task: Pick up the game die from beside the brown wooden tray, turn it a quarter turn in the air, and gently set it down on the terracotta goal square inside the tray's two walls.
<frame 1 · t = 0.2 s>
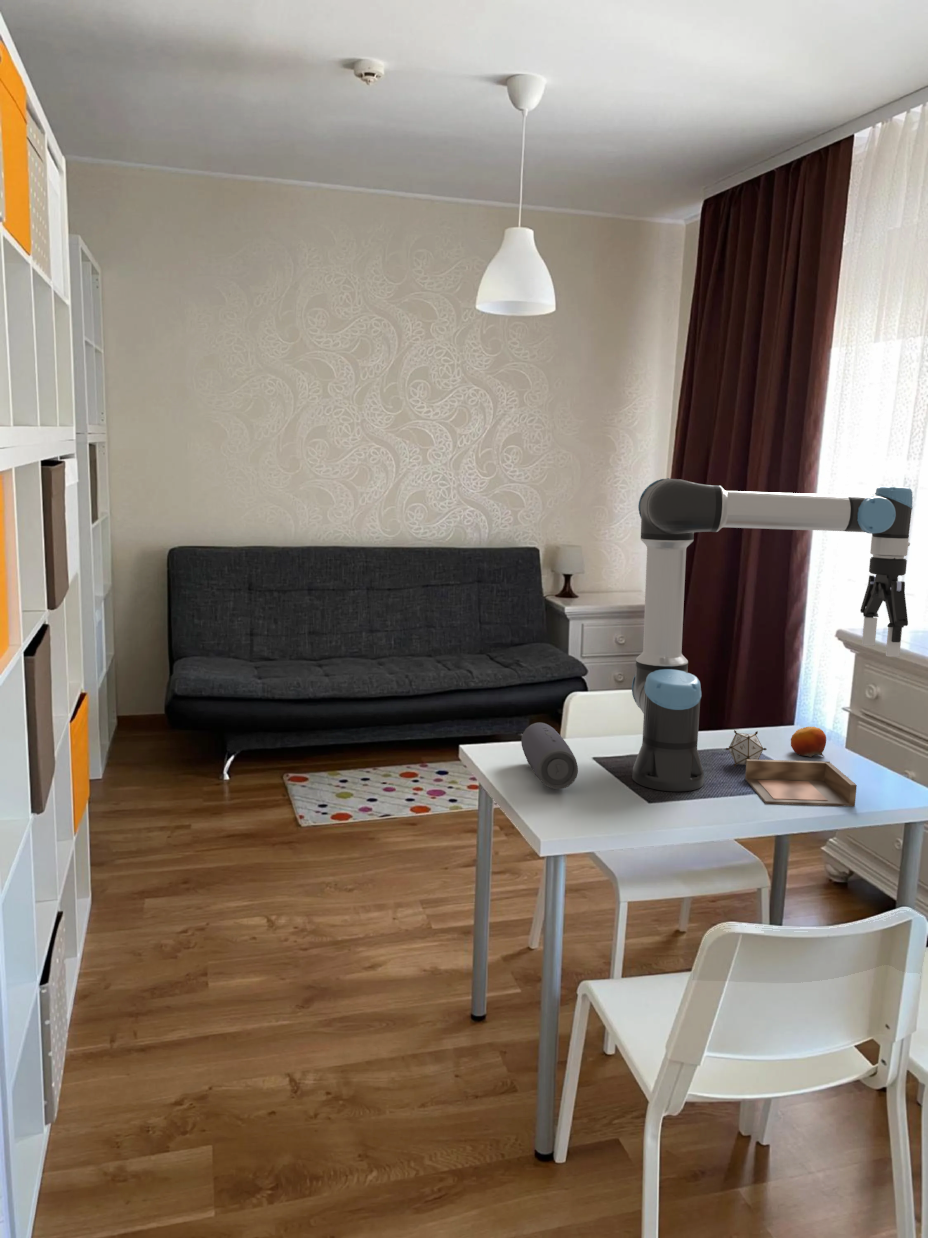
hand: (880, 650, 218), 28 cm above the table, tool pointing down, fingers open, 13 cm apart
fruit: (807, 755, 233), on the table
brown wooden tray: (797, 792, 205), on the table
game die: (744, 766, 223), on the table
bluetooth speaker: (547, 779, 211), on the table
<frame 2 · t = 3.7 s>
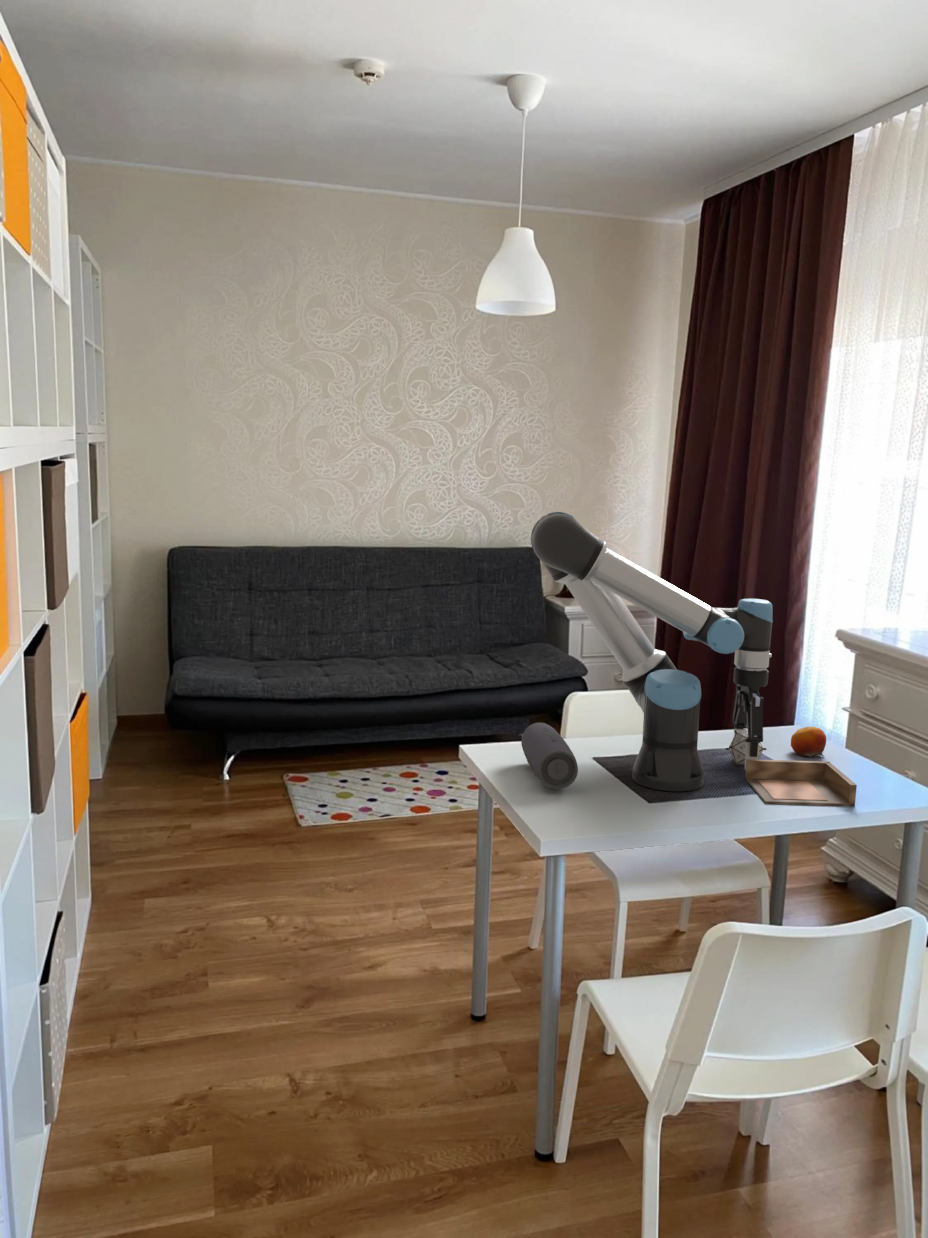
hand: (744, 762, 223), 1 cm above the table, tool pointing down, fingers closed on game die, 10 cm apart
game die: (744, 766, 223), on the table, touching gripper
everything else where it was.
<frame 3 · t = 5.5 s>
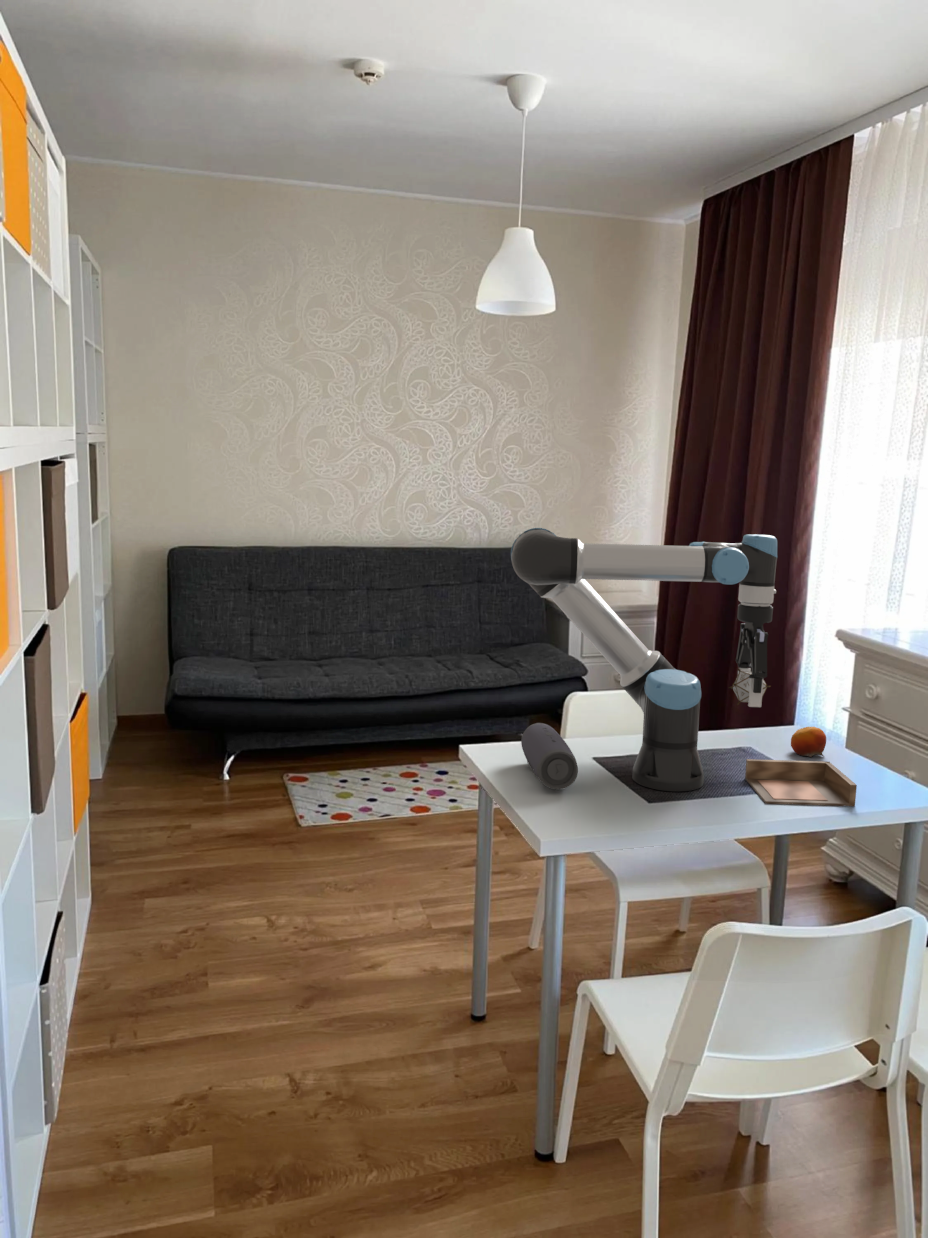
hand: (748, 701, 220), 15 cm above the table, tool pointing down, fingers closed on game die, 10 cm apart
game die: (748, 705, 221), point 14 cm above the table, touching gripper
everything else where it was.
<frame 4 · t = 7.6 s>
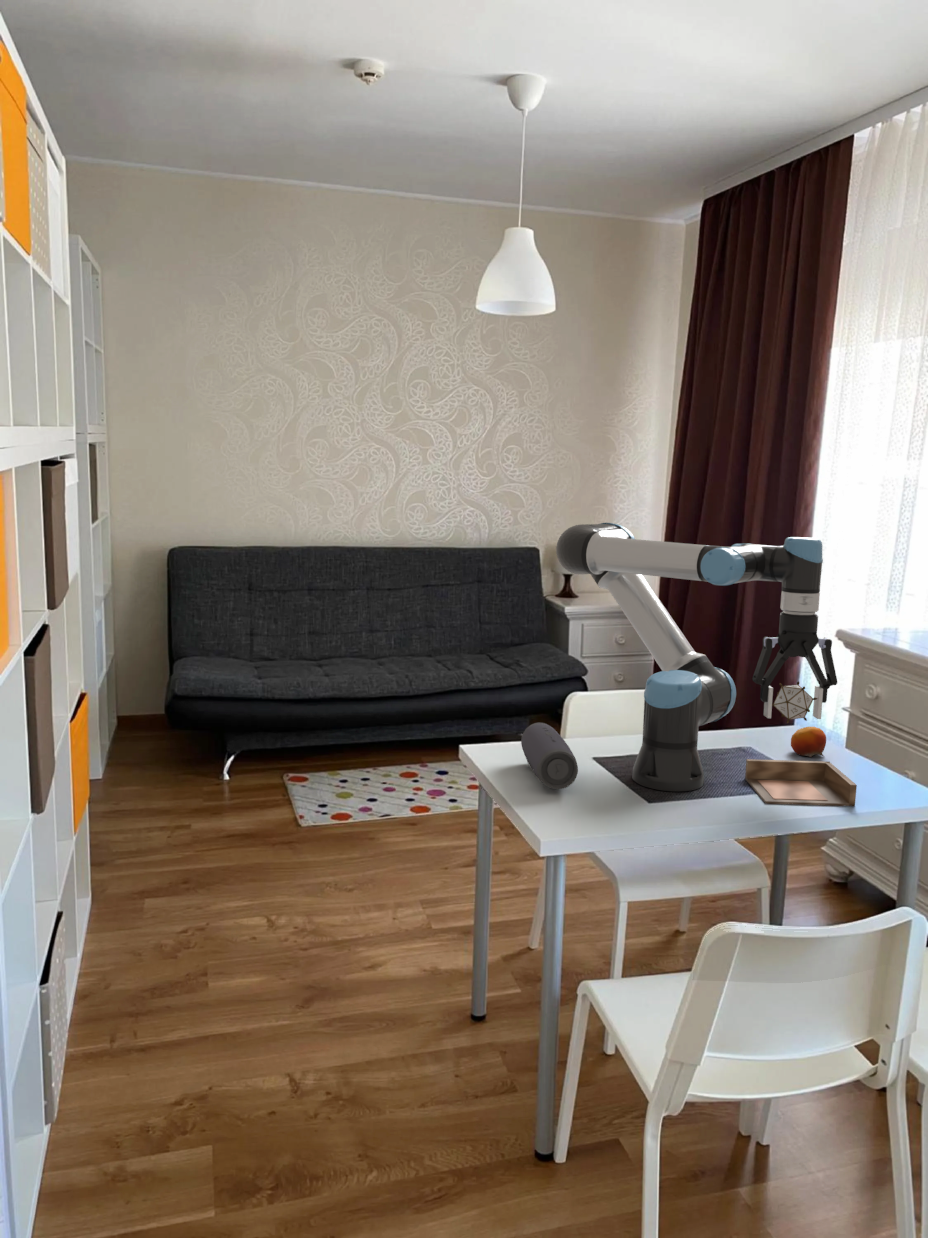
hand: (792, 717, 204), 16 cm above the table, tool pointing down, fingers closed on game die, 10 cm apart
game die: (791, 721, 204), point 15 cm above the table, touching gripper
everything else where it was.
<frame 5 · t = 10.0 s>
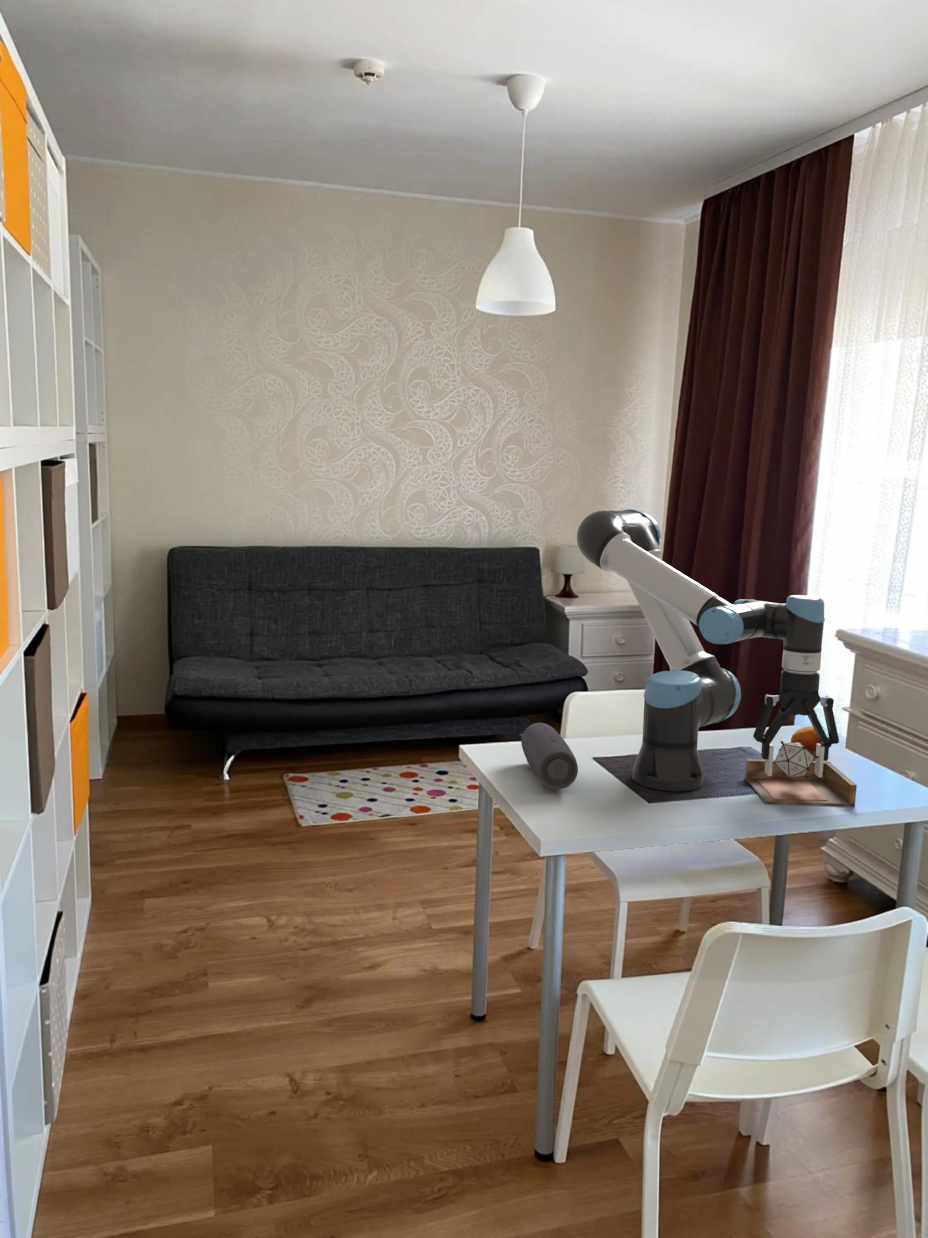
hand: (793, 774, 204), 4 cm above the table, tool pointing down, fingers closed on game die, 10 cm apart
game die: (793, 779, 204), point 3 cm above the table, touching gripper
everything else where it was.
when the fingers open (2 cm above the table, at t = 11.9 s): game die stays where it is, resting on brown wooden tray.
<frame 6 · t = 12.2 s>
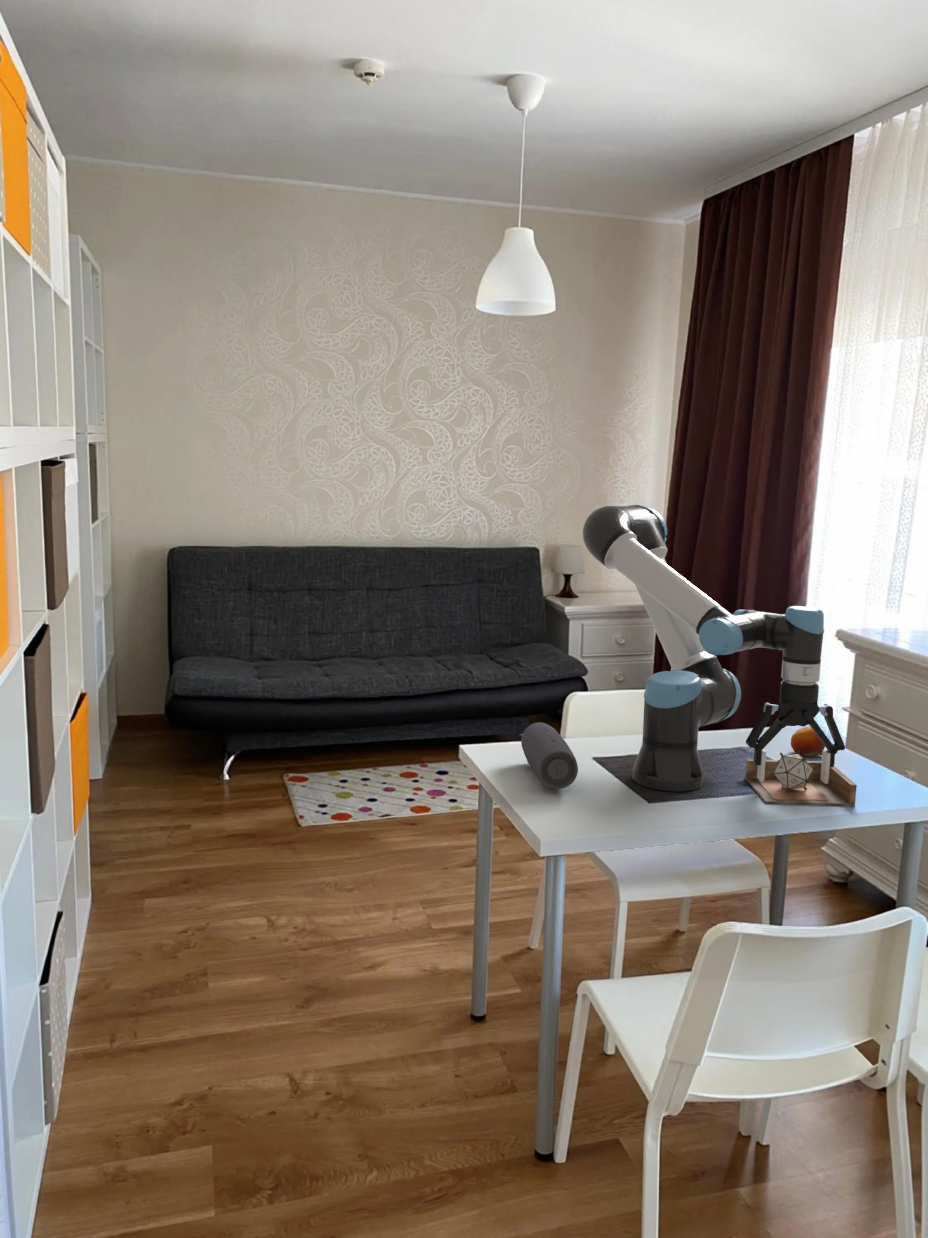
hand: (792, 781, 204), 3 cm above the table, tool pointing down, fingers open, 13 cm apart
game die: (791, 790, 204), resting on brown wooden tray
everything else where it was.
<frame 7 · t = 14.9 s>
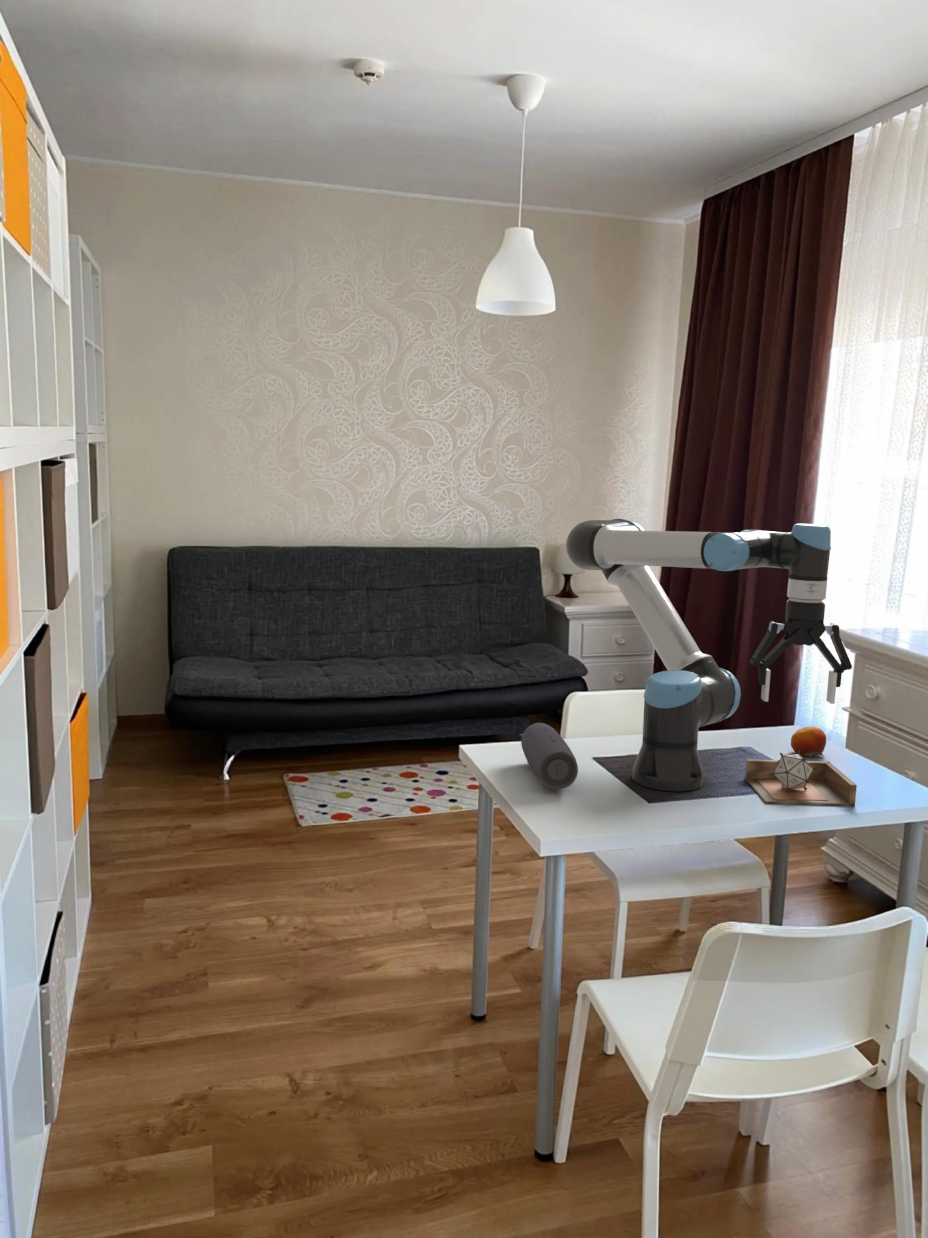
hand: (797, 701, 202), 20 cm above the table, tool pointing down, fingers open, 13 cm apart
nothing on the table moved.
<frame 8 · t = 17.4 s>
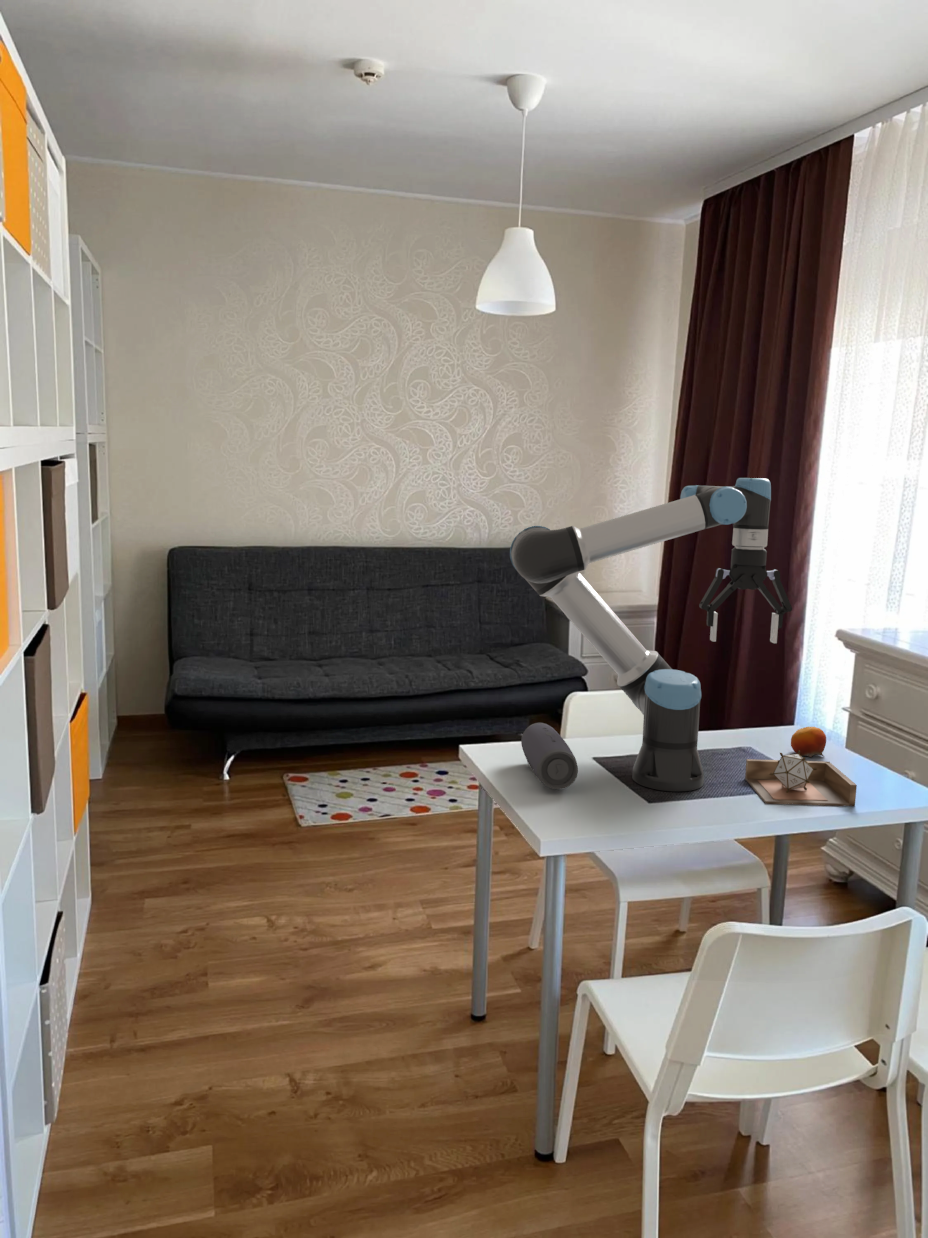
hand: (743, 641, 219), 29 cm above the table, tool pointing down, fingers open, 13 cm apart
nothing on the table moved.
at the end: game die 0.1 cm from the target spot, point 0.5 cm above the table; game die touching brown wooden tray; the gripper is holding nothing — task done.
